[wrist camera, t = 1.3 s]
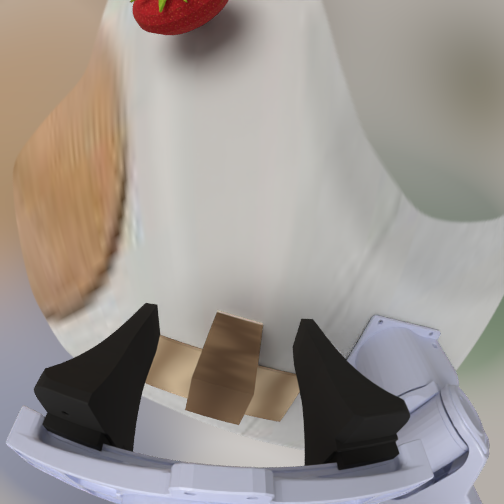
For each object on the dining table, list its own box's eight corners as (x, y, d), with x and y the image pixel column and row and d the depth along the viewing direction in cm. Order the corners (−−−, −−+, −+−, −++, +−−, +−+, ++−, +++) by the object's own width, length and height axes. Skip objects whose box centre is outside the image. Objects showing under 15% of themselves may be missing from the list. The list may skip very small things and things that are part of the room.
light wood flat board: (307, 376, 28) (307, 378, 28) (279, 419, 32) (279, 421, 31) (148, 330, 28) (147, 332, 28) (146, 381, 32) (145, 383, 31)
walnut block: (263, 323, 26) (253, 394, 18) (250, 355, 28) (238, 425, 20) (217, 310, 26) (191, 377, 18) (209, 343, 28) (185, 409, 20)
